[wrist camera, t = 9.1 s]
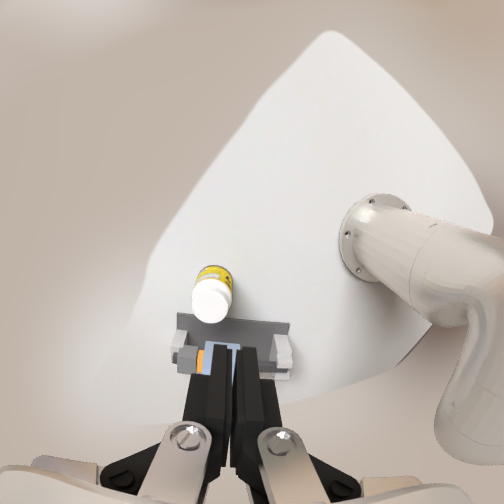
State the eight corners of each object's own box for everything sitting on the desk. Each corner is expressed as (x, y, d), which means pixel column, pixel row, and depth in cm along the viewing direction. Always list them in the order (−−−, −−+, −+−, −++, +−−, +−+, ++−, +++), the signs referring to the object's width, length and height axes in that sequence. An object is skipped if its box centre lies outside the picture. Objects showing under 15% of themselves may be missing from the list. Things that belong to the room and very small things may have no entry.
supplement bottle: (233, 295, 39) (233, 326, 31) (199, 297, 39) (191, 328, 31) (231, 262, 38) (230, 286, 30) (195, 264, 38) (185, 288, 30)
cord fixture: (288, 322, 41) (297, 349, 34) (279, 366, 43) (285, 395, 36) (177, 312, 39) (167, 337, 33) (177, 357, 42) (169, 385, 35)
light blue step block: (239, 344, 37) (240, 377, 31) (237, 366, 38) (237, 401, 32) (205, 340, 37) (200, 374, 30) (204, 363, 38) (199, 398, 31)
